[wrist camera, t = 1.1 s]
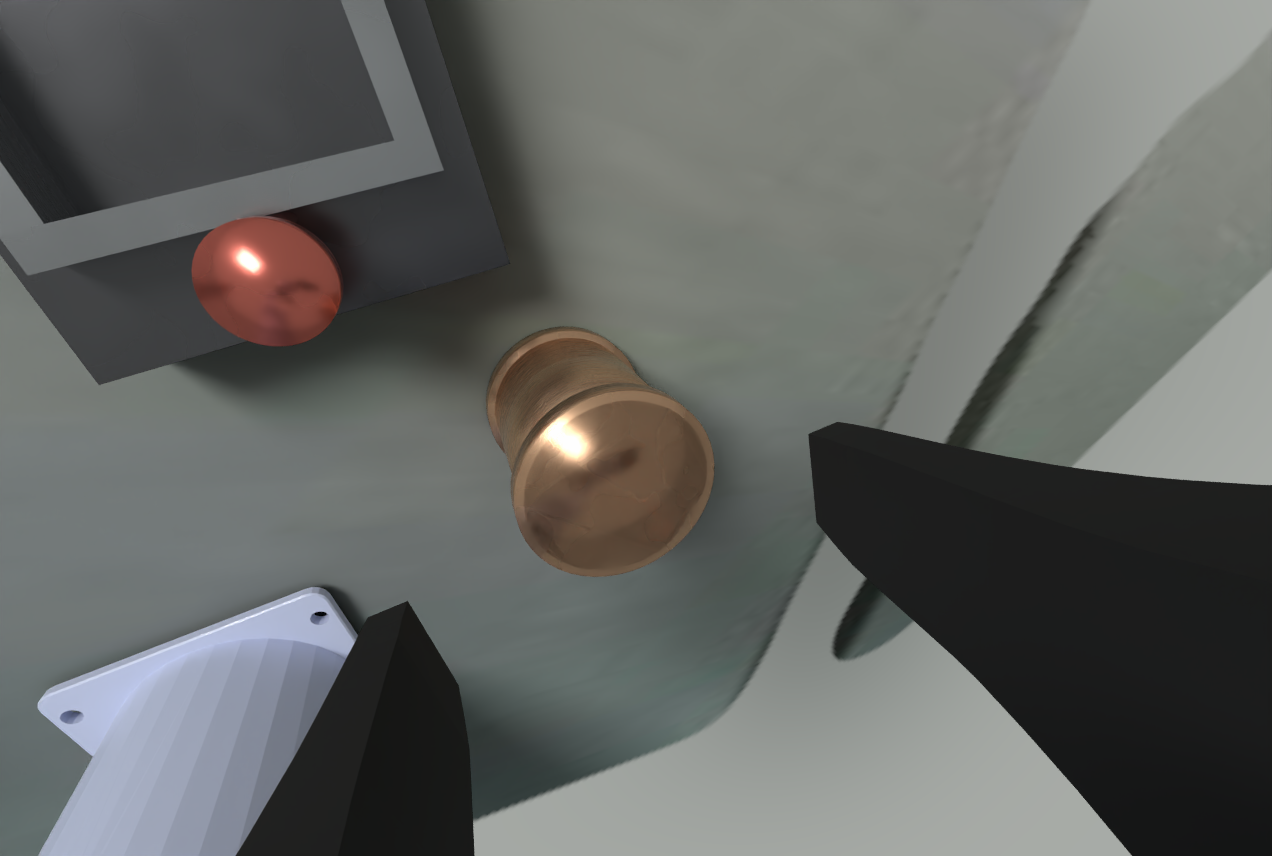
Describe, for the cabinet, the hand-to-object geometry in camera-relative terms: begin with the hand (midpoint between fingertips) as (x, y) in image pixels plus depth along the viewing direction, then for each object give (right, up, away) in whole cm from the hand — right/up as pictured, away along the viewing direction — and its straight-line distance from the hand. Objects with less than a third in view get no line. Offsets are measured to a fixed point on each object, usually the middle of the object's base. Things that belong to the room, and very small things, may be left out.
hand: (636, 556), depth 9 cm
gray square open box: (-9, +9, +3) cm, 13 cm away
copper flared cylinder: (-2, +3, +9) cm, 10 cm away
